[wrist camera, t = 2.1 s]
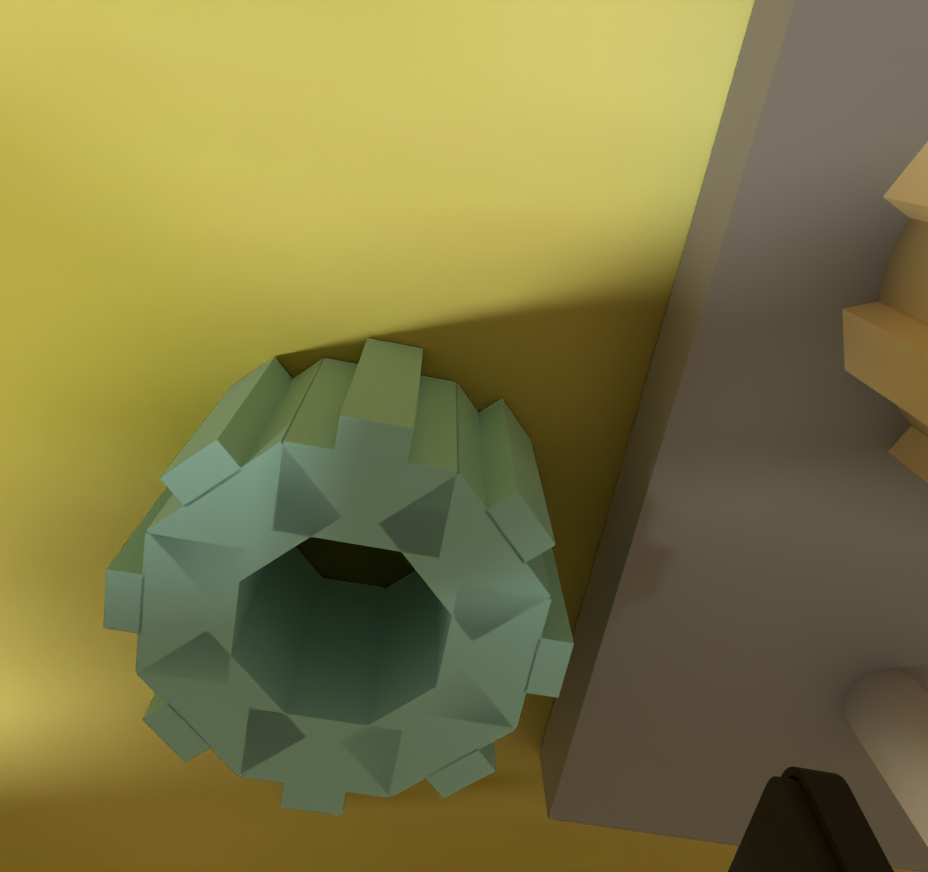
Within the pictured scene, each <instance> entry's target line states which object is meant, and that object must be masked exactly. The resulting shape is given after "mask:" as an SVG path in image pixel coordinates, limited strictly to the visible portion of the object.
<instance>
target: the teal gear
mask: <svg viewBox="0 0 928 872" xmlns="http://www.w3.org/2000/svg"><path fill="white" fill-rule="evenodd" d="M422 356H423V348H419V347H414V346H408V345H403V344H398V343H392V342H387V341H381V340H376V339H371V338H367V340H366V343H365V346H364V349H363V352H362V354H361V357H360V360H359V363H358V364H356V363H351V362H345V361H340V360H335V359H329V358H325V359H323V358H322V359H321V360H319V361H318V362H316V363H315V364H314V365H312V366H311V367H309V368H308V369H306V370H305V371H303V372H302V373H300V374H299V375H297V376H296V377H294V378H293V379H292V378H291V377H290V375H289V374H288V373H287V371H286V370H285V369H284V368H283V366H282V365H281V364H280V362H279V361H278V360H277V359H276V357H273V358H272V359H271V360H269V361H268V362H266V363H265V364H263V365H262V366H260V367H259V368H257V369H256V370H255V371H253V372H252V373H250V374H249V375H247V376H246V377H244V378H243V379H241V380H240V381H239V382H237V383H236V384H234V385H233V386H231V387H230V389H229V390H228V391H227V392H226V394H225V395H224V396H223V398H222V399H221V400H220V401H219V403H218V404H217V405H216V407H215V408H214V409H213V410H212V412H211V413H210V414H209V416H208V417H207V418H206V419H205V421H204V422H203V423H202V425H201V426H200V427H199V428H198V430H197V431H196V432H195V434H194V435H193V436H192V437H191V439H190V440H189V441H188V443H187V444H186V445H185V446H184V448H183V449H182V450H181V451H180V453H179V454H178V455H177V457H176V458H175V459H174V460H173V462H172V463H171V464H170V466H169V467H168V468H167V469H166V471H165V472H164V473H163V475H162V476H161V477H160V479H161V480H162V481H163V482H164V484H165V485H166V486H167V488H166V489H165V491H164V492H163V493H162V495H161V496H160V497H159V499H158V500H157V502H156V503H155V504H154V506H153V507H152V508H151V510H150V511H149V512H148V514H147V515H146V516H145V518H144V519H143V520H142V522H141V523H140V524H139V526H138V527H137V529H136V530H135V531H134V533H133V534H132V535H131V537H130V538H129V539H128V541H127V542H126V543H125V545H124V546H123V547H122V549H121V550H120V551H119V553H118V554H117V555H116V557H115V558H114V560H113V561H112V562H111V564H110V565H109V566H108V568H107V569H106V588H105V607H104V627H103V628H107V629H113V630H120V631H126V632H133V633H138V644H137V659H136V672H137V675H138V676H139V677H140V678H141V679H142V680H143V681H144V682H145V683H146V684H147V685H148V686H149V687H150V688H151V689H152V690H153V691H154V692H155V695H154V697H153V699H152V701H151V703H150V705H149V707H148V709H147V711H146V713H145V715H144V717H143V719H142V720H143V721H144V722H145V723H146V724H147V725H148V726H149V727H150V728H151V729H152V730H153V731H154V732H155V733H156V734H157V735H158V736H159V737H160V738H161V739H162V740H163V741H164V742H165V743H166V744H167V745H168V746H169V747H170V748H171V749H172V750H173V751H174V752H175V753H176V754H177V755H178V756H179V757H180V758H181V759H182V760H183V761H184V762H186V761H188V760H190V759H192V758H193V757H195V756H197V755H198V754H200V753H202V752H204V751H205V750H207V749H209V748H211V749H212V750H213V751H214V752H215V753H216V754H217V755H218V756H219V757H220V758H221V760H222V761H223V762H224V763H225V764H226V765H227V766H228V767H229V768H230V769H231V770H232V771H233V772H234V773H235V774H236V775H237V776H239V775H241V776H240V777H242V778H249V779H256V780H263V781H270V782H277V783H283V790H282V796H281V803H280V807H281V808H288V809H295V810H303V811H310V812H317V813H324V814H331V815H339V816H342V811H343V806H344V801H345V795H346V792H348V793H355V794H362V795H369V796H376V797H384V798H388V797H389V796H390V797H393V796H395V795H397V794H399V793H400V792H402V791H404V790H406V789H408V788H410V787H412V786H413V785H415V784H417V783H419V782H421V781H423V780H424V779H427V781H428V782H429V783H430V784H431V785H432V786H433V787H434V789H435V790H436V791H437V792H438V793H439V794H440V795H441V796H442V798H443V799H444V798H446V797H448V796H450V795H452V794H454V793H456V792H457V791H459V790H461V789H463V788H465V787H467V786H469V785H470V784H472V783H474V782H476V781H478V780H480V779H482V778H484V777H485V776H487V775H489V774H491V773H493V772H495V771H496V766H495V751H494V741H496V740H498V739H500V738H502V737H504V736H505V735H507V734H509V733H511V732H513V731H515V728H517V725H518V722H519V718H520V714H521V711H522V707H523V703H524V699H525V696H526V693H530V694H537V695H543V696H550V697H556V698H558V697H559V694H560V690H561V687H562V683H563V680H564V676H565V673H566V669H567V666H568V662H569V659H570V655H571V652H572V648H573V645H574V641H573V637H572V633H571V628H570V624H569V619H568V615H567V611H566V606H565V602H564V597H563V593H562V589H561V584H560V580H559V575H558V571H557V566H556V562H555V558H554V553H553V549H552V547H553V546H555V545H556V543H555V539H554V535H553V531H552V527H551V522H550V518H549V514H548V510H547V505H546V501H545V497H544V493H543V488H542V484H541V480H540V476H539V472H538V467H537V463H536V459H535V455H534V450H533V446H532V442H531V439H530V438H529V437H528V435H527V434H526V432H525V431H524V429H523V428H522V426H521V425H520V424H519V422H518V421H517V419H516V418H515V416H514V415H513V413H512V412H511V411H510V409H509V408H508V406H507V405H506V403H505V402H504V400H503V399H502V398H501V399H499V400H498V401H496V402H494V403H493V404H491V405H490V406H488V407H487V408H485V409H483V410H482V411H480V412H478V411H477V409H476V408H475V407H474V405H473V404H472V402H471V401H470V399H469V398H468V397H467V395H466V394H465V392H464V391H463V390H462V388H461V387H460V385H459V384H458V383H457V384H456V382H455V381H449V380H444V379H438V378H433V377H427V376H422V375H420V373H421V364H422ZM310 537H315V538H321V539H327V540H333V541H339V542H345V543H351V544H357V545H363V546H369V547H375V548H381V549H388V550H394V551H400V552H402V553H403V555H404V556H405V557H406V559H407V560H408V561H409V562H410V564H411V565H412V566H413V567H414V569H415V571H413V572H412V573H410V574H409V575H407V576H405V577H404V578H402V579H400V580H399V581H397V582H395V583H394V584H392V585H390V586H389V587H387V588H384V587H378V586H372V585H365V584H359V583H353V582H347V581H341V580H335V579H328V578H322V577H321V576H320V575H319V573H318V572H317V571H316V570H315V569H314V567H313V566H312V565H311V564H310V563H309V562H308V560H307V559H306V558H305V557H304V556H303V554H302V553H301V552H300V551H299V550H298V549H297V547H296V546H297V545H299V544H300V543H302V542H303V541H305V540H307V539H308V538H310Z"/></svg>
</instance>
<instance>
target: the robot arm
mask: <svg viewBox="0 0 928 872" xmlns="http://www.w3.org/2000/svg"><path fill="white" fill-rule="evenodd" d="M728 872H894V871H893V869H892V867H891V865H890V863H889V862H888V860H887V858H886V856H885V854H884V852H883V850H882V848H881V846H880V844H879V842H878V841H877V839H876V837H875V835H874V833H873V831H872V829H871V827H870V825H869V823H868V821H867V819H866V818H865V816H864V814H863V812H862V810H861V808H860V806H859V804H858V802H857V800H856V798H855V797H854V795H853V793H852V791H851V789H850V787H849V785H848V784H847V782H846V781H845V779H844V778H843V777H842V776H840V775H839V774H836V773H830V772H824V771H818V770H812V769H806V768H800V767H788V768H787V769H786V770H784V772H783V774H782V775H781V777H777V776H773V777H772V778H770V779H769V781H768V782H767V784H766V786H765V788H764V791H763V793H762V795H761V798H760V800H759V802H758V804H757V807H756V809H755V811H754V814H753V816H752V818H751V820H750V823H749V825H748V827H747V830H746V832H745V834H744V836H743V839H742V841H741V843H740V846H739V848H738V850H737V852H736V855H735V857H734V859H733V862H732V864H731V866H730V868H729V871H728Z"/></svg>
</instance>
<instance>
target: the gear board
mask: <svg viewBox="0 0 928 872" xmlns="http://www.w3.org/2000/svg"><path fill="white" fill-rule="evenodd" d="M573 641H574V645H573V648H572V652H571V655H570V659H569V662H568V666H567V669H566V673H565V676H564V680H563V683H562V687H561V690H560V694H559V697H558V698H556V697H555V700H554V704H553V707H552V711H551V714H550V718H549V721H548V725H547V728H546V732H545V735H544V739H543V742H542V746H541V749H540V761H541V768H542V775H543V783H544V790H545V798H546V805H547V812H548V819H553V820H560V821H567V822H574V823H581V824H588V825H595V826H603V827H610V828H617V829H624V830H631V831H638V832H645V833H652V834H659V835H666V836H673V837H680V838H688V839H695V840H702V841H709V842H716V843H723V844H730V845H737V846H740V843H741V841H742V839H743V836H744V834H745V832H746V830H747V827H748V825H749V823H750V820H751V818H752V816H753V814H754V811H755V809H756V807H757V804H758V802H759V800H760V798H761V795H762V793H763V791H764V788H765V786H766V784H767V782H768V781H769V779H770V778H772V777H773V776H777V777H781V775H782V774H783V772H784V770H786V769H787V768H788V767H800V768H806V769H812V770H818V771H824V772H830V773H836V774H839V775H840V776H842V777H843V778H844V779H845V781H846V782H847V784H848V785H849V787H850V789H851V791H852V793H853V795H854V797H855V798H856V800H857V802H858V804H859V806H860V808H861V810H862V812H863V814H864V816H865V818H866V819H867V821H868V823H869V825H870V827H871V829H872V831H873V833H874V835H875V837H876V839H877V841H878V842H879V844H880V846H881V848H882V850H883V852H884V854H885V856H886V858H887V860H888V862H889V863H890V865H891V867H893V868H900V869H907V870H914V871H921V872H928V0H755V2H754V6H753V9H752V13H751V16H750V19H749V23H748V26H747V30H746V33H745V37H744V40H743V44H742V47H741V51H740V54H739V58H738V61H737V65H736V68H735V72H734V75H733V79H732V82H731V86H730V89H729V93H728V96H727V100H726V103H725V107H724V110H723V114H722V117H721V121H720V124H719V128H718V131H717V135H716V138H715V142H714V145H713V149H712V152H711V156H710V159H709V163H708V166H707V170H706V173H705V177H704V180H703V184H702V187H701V191H700V194H699V198H698V201H697V205H696V208H695V212H694V215H693V219H692V222H691V226H690V229H689V232H688V236H687V239H686V243H685V246H684V250H683V253H682V257H681V260H680V264H679V267H678V271H677V274H676V278H675V281H674V285H673V288H672V292H671V295H670V299H669V302H668V306H667V309H666V313H665V316H664V320H663V323H662V327H661V330H660V334H659V337H658V341H657V344H656V348H655V351H654V355H653V358H652V362H651V365H650V369H649V372H648V376H647V379H646V383H645V386H644V390H643V393H642V397H641V400H640V404H639V407H638V411H637V414H636V418H635V421H634V425H633V428H632V432H631V435H630V438H629V442H628V445H627V449H626V452H625V456H624V459H623V463H622V466H621V470H620V473H619V477H618V480H617V484H616V487H615V491H614V494H613V498H612V501H611V505H610V508H609V512H608V515H607V519H606V522H605V526H604V529H603V533H602V536H601V540H600V543H599V547H598V550H597V554H596V557H595V561H594V564H593V568H592V571H591V575H590V578H589V582H588V585H587V589H586V592H585V596H584V599H583V603H582V606H581V610H580V613H579V617H578V620H577V624H576V627H575V631H574V634H573Z"/></svg>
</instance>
